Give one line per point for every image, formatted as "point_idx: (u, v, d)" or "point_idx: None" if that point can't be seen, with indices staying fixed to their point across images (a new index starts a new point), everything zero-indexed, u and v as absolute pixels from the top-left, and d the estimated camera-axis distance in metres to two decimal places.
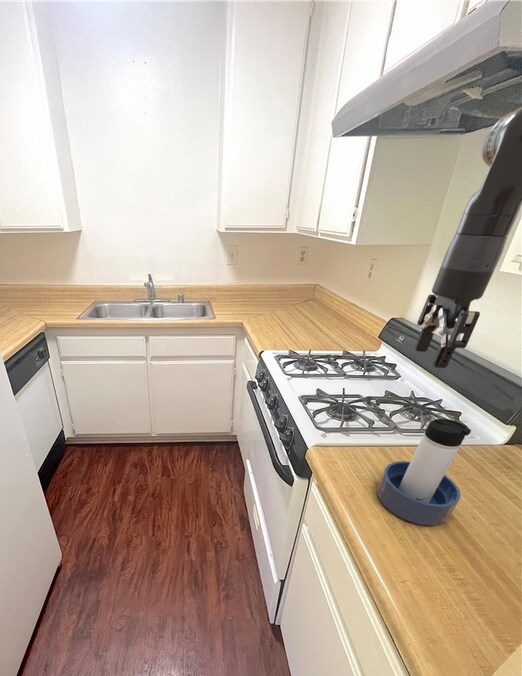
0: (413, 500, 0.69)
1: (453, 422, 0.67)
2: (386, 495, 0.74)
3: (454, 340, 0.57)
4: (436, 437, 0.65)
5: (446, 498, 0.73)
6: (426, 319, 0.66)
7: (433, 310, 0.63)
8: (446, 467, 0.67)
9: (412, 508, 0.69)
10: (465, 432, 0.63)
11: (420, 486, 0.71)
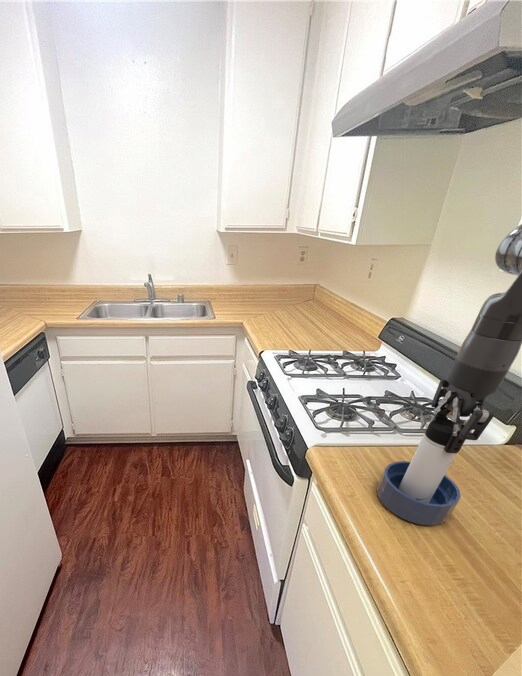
0: (413, 500, 0.69)
1: None
2: (386, 495, 0.74)
3: (466, 433, 0.59)
4: (436, 437, 0.65)
5: (446, 498, 0.73)
6: (440, 404, 0.66)
7: (448, 396, 0.64)
8: (446, 467, 0.67)
9: (412, 508, 0.69)
10: None
11: (420, 486, 0.71)
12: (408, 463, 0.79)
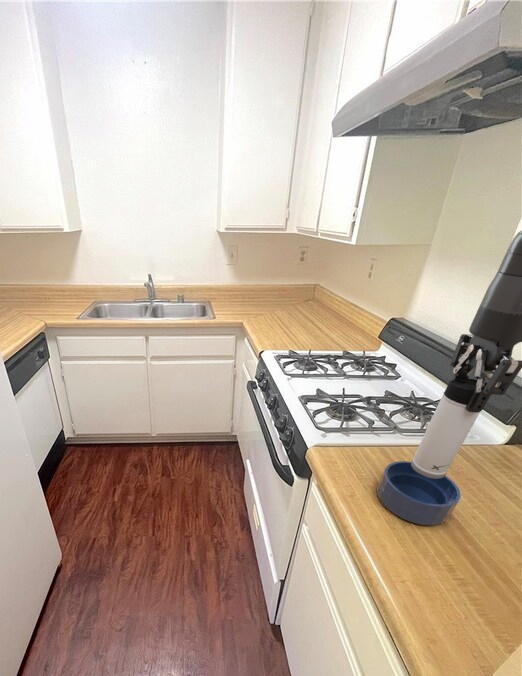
0: (413, 500, 0.69)
1: (475, 381, 0.62)
2: (386, 495, 0.74)
3: (491, 387, 0.54)
4: (457, 396, 0.60)
5: (446, 498, 0.73)
6: (461, 360, 0.61)
7: (470, 350, 0.59)
8: (467, 430, 0.62)
9: (412, 508, 0.69)
10: None
11: (438, 452, 0.66)
12: (408, 463, 0.79)
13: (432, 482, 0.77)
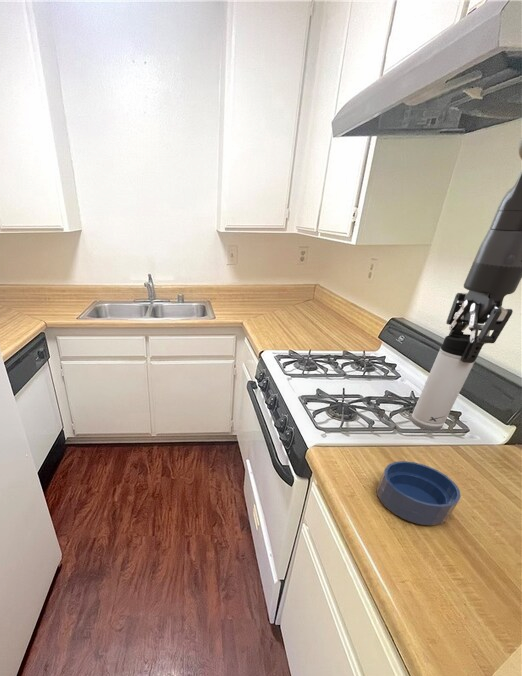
0: (413, 500, 0.69)
1: (469, 336, 0.67)
2: (386, 495, 0.74)
3: (484, 335, 0.60)
4: (453, 348, 0.65)
5: (446, 498, 0.73)
6: (457, 316, 0.66)
7: (464, 305, 0.64)
8: (462, 381, 0.68)
9: (412, 508, 0.69)
10: None
11: (436, 404, 0.71)
12: (408, 463, 0.79)
13: (432, 482, 0.77)
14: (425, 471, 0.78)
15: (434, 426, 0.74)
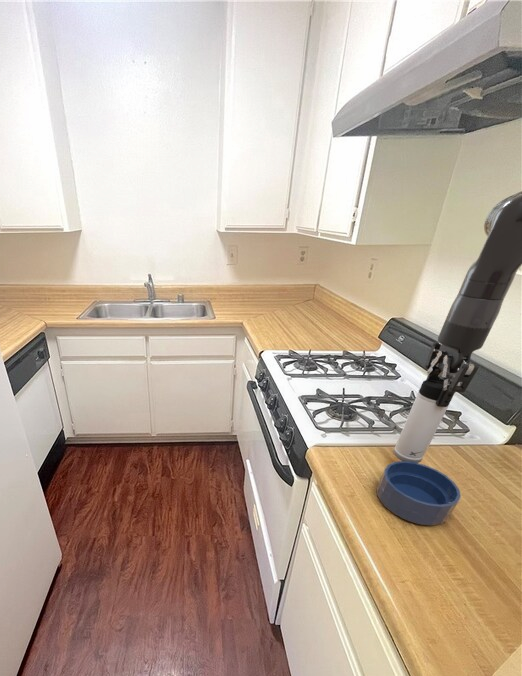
0: (413, 500, 0.69)
1: None
2: (386, 495, 0.74)
3: (454, 386, 0.67)
4: (429, 393, 0.73)
5: (446, 498, 0.73)
6: (433, 364, 0.74)
7: (439, 355, 0.71)
8: (438, 421, 0.75)
9: (412, 508, 0.69)
10: None
11: (415, 441, 0.78)
12: (408, 463, 0.79)
13: (432, 482, 0.77)
14: (425, 471, 0.78)
15: (414, 460, 0.81)
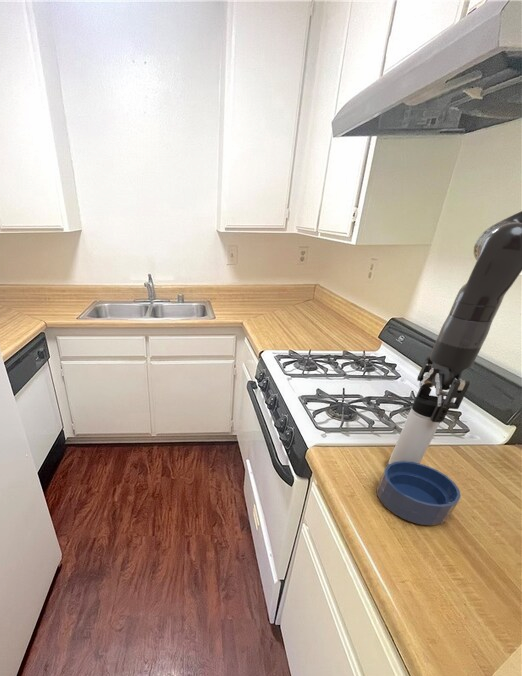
0: (413, 500, 0.69)
1: (436, 398, 0.77)
2: (386, 495, 0.74)
3: (448, 403, 0.68)
4: (421, 410, 0.75)
5: (446, 498, 0.73)
6: (425, 378, 0.76)
7: (431, 372, 0.73)
8: (430, 437, 0.77)
9: (412, 508, 0.69)
10: None
11: (408, 455, 0.81)
12: (408, 463, 0.79)
13: (432, 482, 0.77)
14: (425, 471, 0.78)
15: None
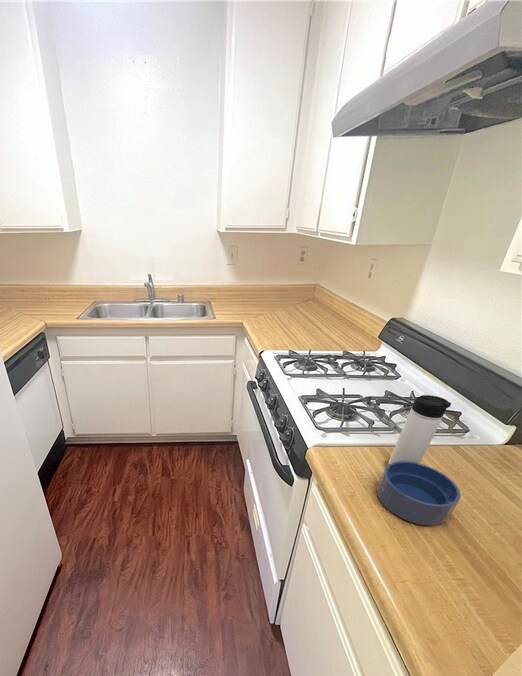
0: (413, 500, 0.69)
1: (436, 398, 0.77)
2: (386, 495, 0.74)
3: None
4: (421, 410, 0.75)
5: (446, 498, 0.73)
6: None
7: None
8: (430, 437, 0.77)
9: (412, 508, 0.69)
10: (446, 405, 0.73)
11: (408, 455, 0.81)
12: (408, 463, 0.79)
13: (432, 482, 0.77)
14: (425, 471, 0.78)
15: None
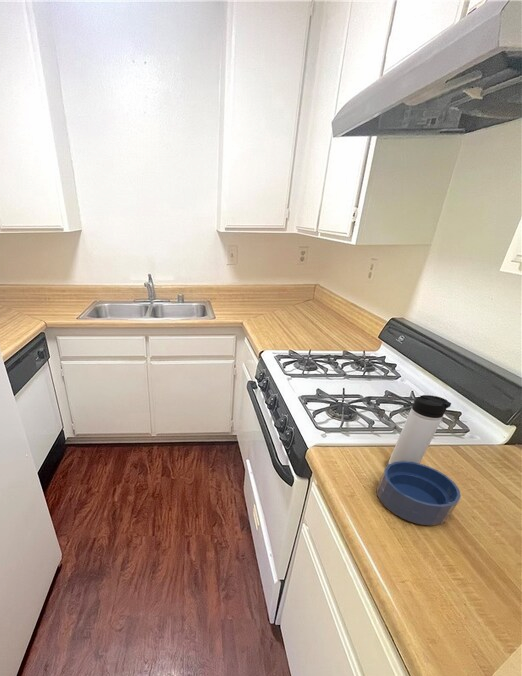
0: (413, 500, 0.69)
1: (437, 398, 0.77)
2: (386, 495, 0.74)
3: None
4: (421, 410, 0.75)
5: (446, 498, 0.73)
6: None
7: None
8: (430, 437, 0.77)
9: (412, 508, 0.69)
10: (446, 405, 0.73)
11: (408, 455, 0.81)
12: (408, 463, 0.79)
13: (432, 482, 0.77)
14: (425, 471, 0.78)
15: None
